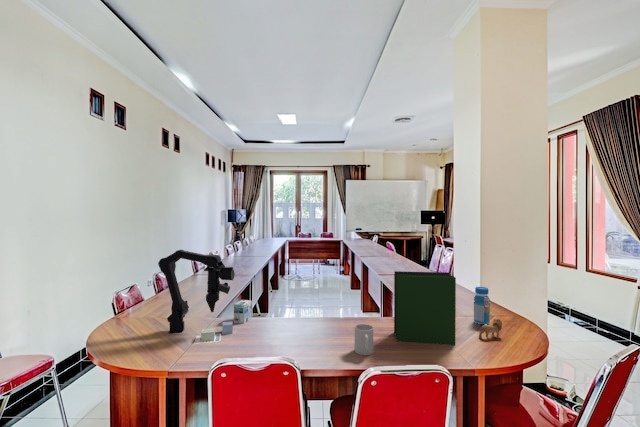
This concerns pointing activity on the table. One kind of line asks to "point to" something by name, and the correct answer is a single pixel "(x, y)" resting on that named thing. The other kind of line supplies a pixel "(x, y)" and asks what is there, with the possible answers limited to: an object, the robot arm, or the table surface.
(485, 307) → the beverage bottle
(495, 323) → the lion figurine
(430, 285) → the binder
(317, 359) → the table surface
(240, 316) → the light bulb box
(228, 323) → the slate-blue cube
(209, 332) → the sage block
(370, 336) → the mug
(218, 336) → the letter
